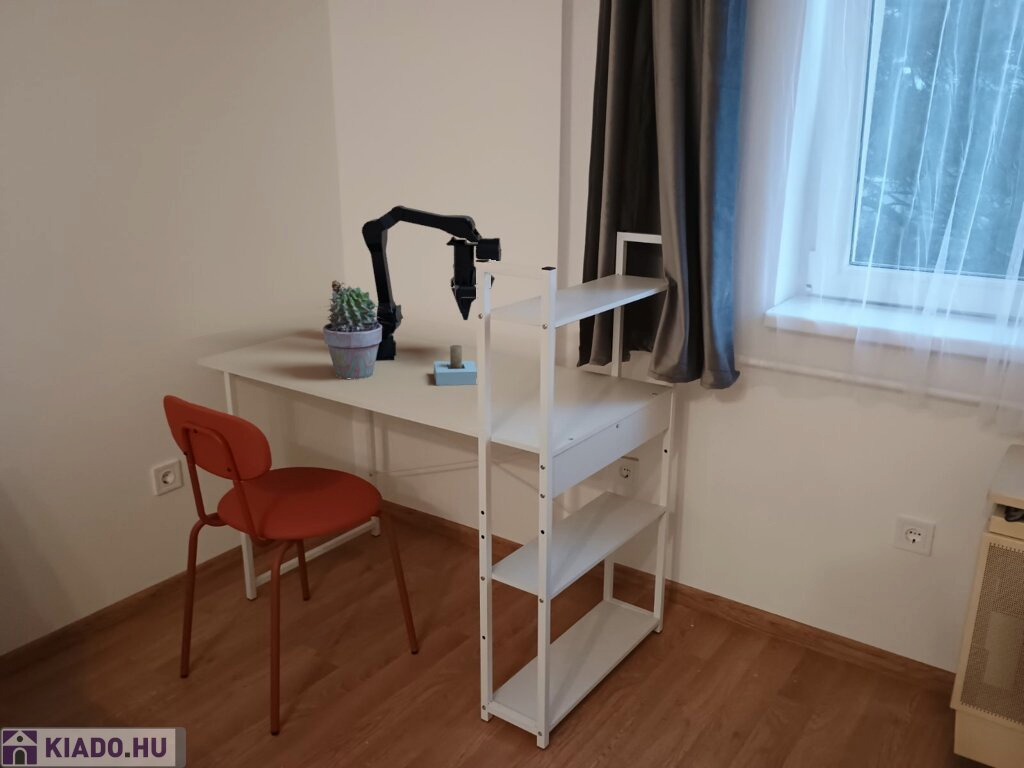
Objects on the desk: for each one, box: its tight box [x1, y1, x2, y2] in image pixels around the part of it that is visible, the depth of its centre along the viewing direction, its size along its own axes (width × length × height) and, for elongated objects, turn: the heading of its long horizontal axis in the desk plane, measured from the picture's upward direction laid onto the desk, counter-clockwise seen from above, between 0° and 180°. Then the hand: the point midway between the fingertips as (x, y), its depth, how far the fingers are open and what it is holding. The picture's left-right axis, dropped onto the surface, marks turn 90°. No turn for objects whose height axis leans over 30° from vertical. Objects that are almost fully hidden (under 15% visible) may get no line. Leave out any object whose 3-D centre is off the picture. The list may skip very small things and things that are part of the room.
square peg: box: [449, 344, 463, 369], centre depth 236 cm, size 3×3×9 cm
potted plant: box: [318, 280, 385, 380], centre depth 236 cm, size 18×20×25 cm
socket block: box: [433, 360, 478, 387], centre depth 236 cm, size 11×11×4 cm
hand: (464, 316), depth 252 cm, fingers open, 9 cm apart
